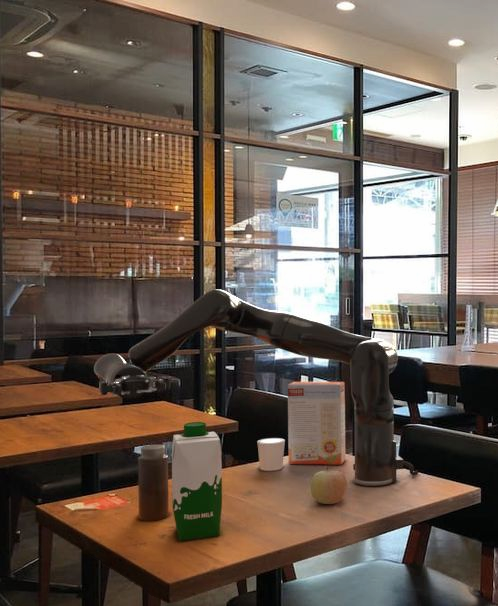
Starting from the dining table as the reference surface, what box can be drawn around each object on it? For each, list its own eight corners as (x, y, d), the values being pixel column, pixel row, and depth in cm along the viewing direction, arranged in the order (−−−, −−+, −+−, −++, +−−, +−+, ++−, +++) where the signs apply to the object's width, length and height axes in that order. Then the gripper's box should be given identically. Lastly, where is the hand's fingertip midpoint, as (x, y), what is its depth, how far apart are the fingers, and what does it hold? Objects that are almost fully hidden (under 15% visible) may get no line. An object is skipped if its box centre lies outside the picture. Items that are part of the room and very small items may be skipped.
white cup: (261, 472, 173) (261, 444, 173) (254, 466, 180) (254, 439, 179) (288, 469, 177) (288, 441, 176) (280, 463, 183) (280, 436, 182)
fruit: (317, 510, 144) (316, 471, 144) (306, 500, 151) (306, 463, 151) (352, 505, 147) (351, 467, 147) (340, 495, 154) (340, 459, 154)
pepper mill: (169, 510, 144) (168, 442, 144) (167, 519, 139) (167, 449, 139) (140, 513, 143) (139, 444, 142) (137, 522, 137) (136, 451, 137)
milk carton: (218, 521, 137) (217, 420, 137) (225, 537, 129) (224, 428, 129) (170, 528, 134) (169, 423, 133) (174, 544, 126) (173, 432, 125)
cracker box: (346, 459, 186) (345, 381, 185) (341, 465, 180) (340, 384, 179) (294, 458, 187) (293, 380, 187) (287, 464, 181) (287, 383, 181)
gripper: (93, 366, 159) (104, 373, 146) (158, 362, 167) (175, 368, 153) (94, 399, 159) (105, 409, 146) (159, 394, 167) (176, 403, 153)
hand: (141, 388), depth 149 cm, fingers open, 8 cm apart
